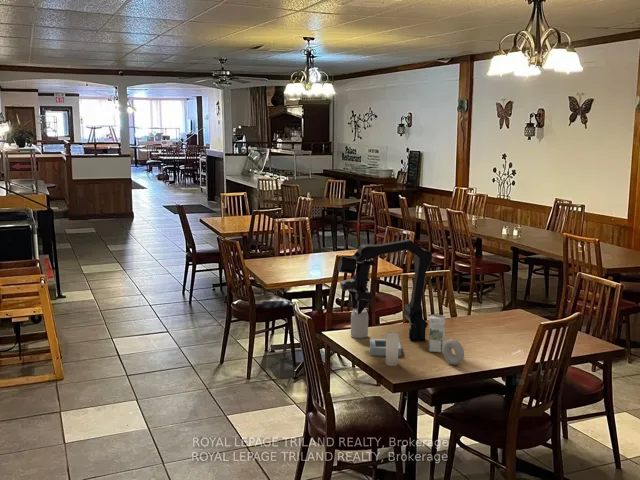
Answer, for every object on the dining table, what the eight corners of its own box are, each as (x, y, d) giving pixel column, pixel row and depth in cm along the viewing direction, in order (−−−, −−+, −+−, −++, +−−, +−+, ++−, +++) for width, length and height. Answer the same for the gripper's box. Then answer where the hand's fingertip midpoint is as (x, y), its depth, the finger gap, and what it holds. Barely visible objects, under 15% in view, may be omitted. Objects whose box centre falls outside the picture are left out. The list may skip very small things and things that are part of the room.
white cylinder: (397, 361, 247) (398, 331, 245) (398, 366, 242) (399, 335, 240) (385, 361, 247) (385, 331, 245) (385, 365, 242) (386, 335, 240)
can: (368, 334, 281) (368, 308, 279) (367, 339, 274) (368, 312, 272) (351, 333, 282) (351, 307, 280) (350, 339, 274) (350, 312, 272)
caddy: (398, 345, 265) (398, 339, 265) (401, 355, 253) (401, 348, 253) (369, 345, 266) (369, 338, 265) (371, 355, 254) (371, 348, 253)
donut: (440, 361, 247) (441, 336, 246) (447, 359, 249) (447, 335, 247) (459, 369, 239) (460, 343, 237) (465, 367, 241) (466, 342, 239)
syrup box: (444, 349, 262) (445, 315, 259) (442, 353, 256) (443, 318, 254) (430, 347, 264) (431, 313, 261) (428, 351, 258) (429, 317, 256)
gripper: (338, 268, 271) (332, 303, 273) (349, 277, 253) (342, 315, 255) (363, 270, 274) (357, 305, 276) (375, 280, 256) (369, 317, 258)
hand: (356, 310), depth 266 cm, fingers open, 9 cm apart
